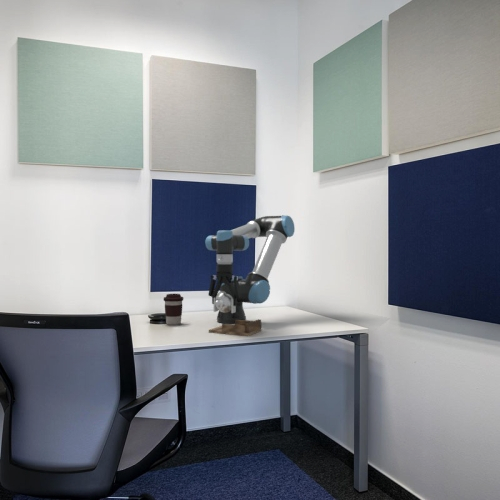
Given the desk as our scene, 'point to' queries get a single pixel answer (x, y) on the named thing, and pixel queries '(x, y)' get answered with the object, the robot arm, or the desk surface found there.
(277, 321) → the desk surface
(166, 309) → the coffee cup
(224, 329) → the open wooden box
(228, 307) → the silver round lump
